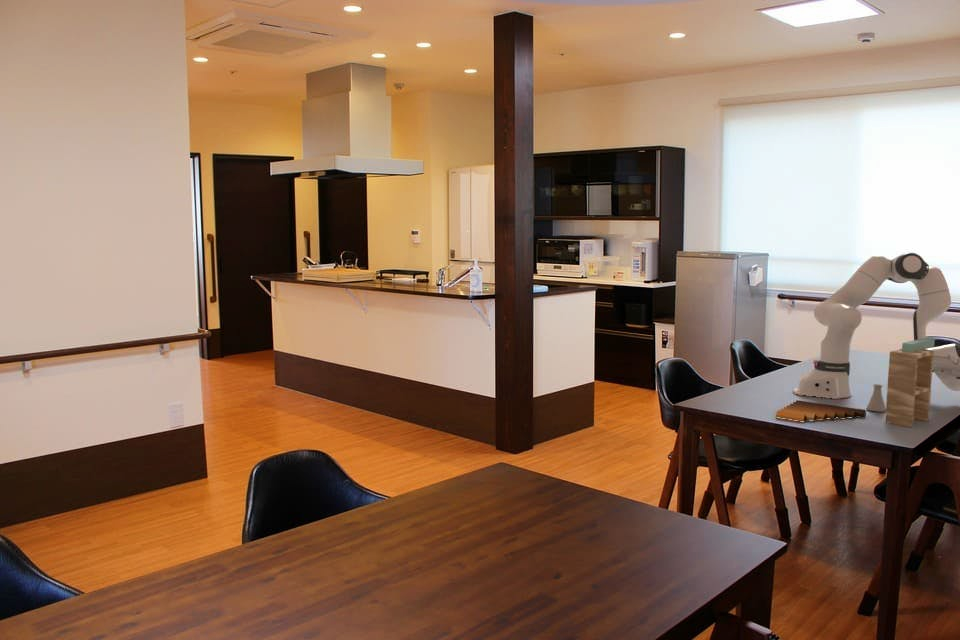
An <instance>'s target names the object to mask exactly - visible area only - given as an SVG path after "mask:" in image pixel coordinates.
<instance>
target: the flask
mask: <svg viewBox="0 0 960 640" xmlns="http://www.w3.org/2000/svg"><path fill="white" fill-rule="evenodd" d="M882 387H883V384H878V383H874V384H873V392H872V395H871V397H870V400H869V402H868V403H867V406H866V408H865V411H870V412H876V413H884V412H885V413H886V405H885V404H886V403H885V402H884V398H883V395H882V393H883V392H882Z"/></svg>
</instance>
